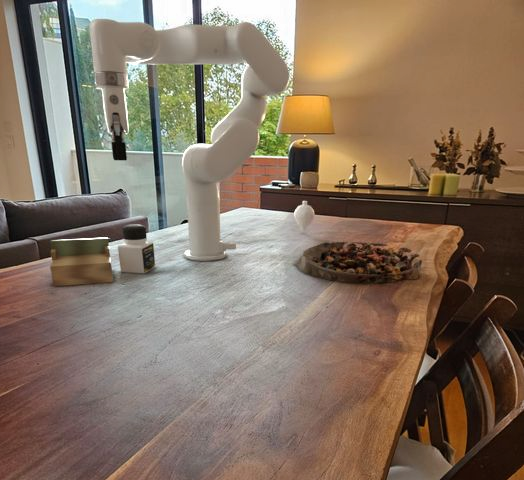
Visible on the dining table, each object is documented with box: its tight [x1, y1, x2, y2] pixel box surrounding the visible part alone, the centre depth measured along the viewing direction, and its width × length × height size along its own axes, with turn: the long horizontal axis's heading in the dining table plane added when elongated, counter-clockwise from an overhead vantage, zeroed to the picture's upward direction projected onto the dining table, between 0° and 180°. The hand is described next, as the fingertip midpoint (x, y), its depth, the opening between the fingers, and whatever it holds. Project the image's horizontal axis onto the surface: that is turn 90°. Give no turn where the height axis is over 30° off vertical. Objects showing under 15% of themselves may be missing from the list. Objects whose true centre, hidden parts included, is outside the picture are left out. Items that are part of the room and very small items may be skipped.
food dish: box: [294, 241, 423, 284], centre depth 129 cm, size 35×33×8 cm
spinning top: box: [293, 200, 315, 234], centre depth 173 cm, size 8×8×12 cm
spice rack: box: [49, 237, 114, 287], centre depth 116 cm, size 14×11×9 cm
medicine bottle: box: [117, 223, 156, 274], centre depth 124 cm, size 7×7×12 cm
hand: (119, 159), depth 117 cm, fingers open, 9 cm apart
